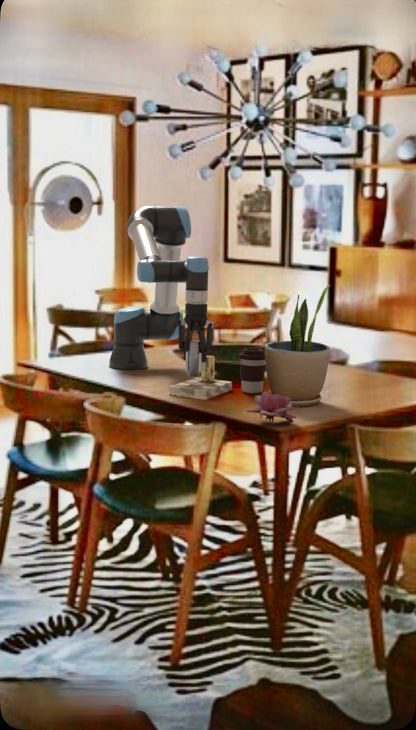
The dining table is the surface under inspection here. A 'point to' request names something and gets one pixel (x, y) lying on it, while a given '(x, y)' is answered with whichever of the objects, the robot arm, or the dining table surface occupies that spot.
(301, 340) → the potted plant
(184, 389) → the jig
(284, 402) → the flower
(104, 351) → the dining table surface
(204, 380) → the yellow rectangular block
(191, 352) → the grey rectangular block
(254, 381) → the coffee cup
